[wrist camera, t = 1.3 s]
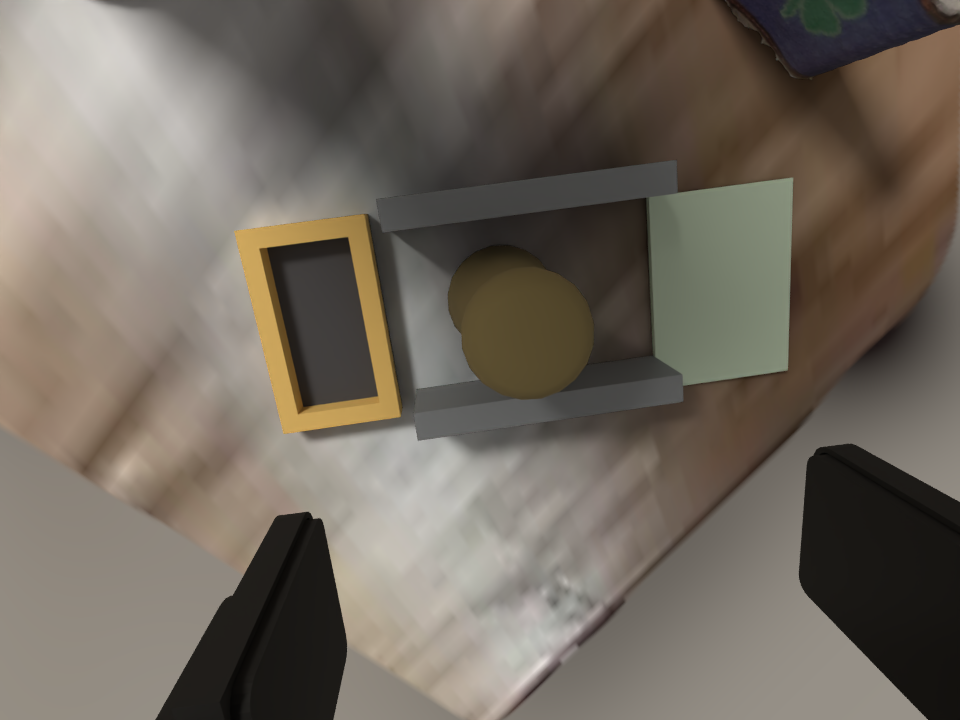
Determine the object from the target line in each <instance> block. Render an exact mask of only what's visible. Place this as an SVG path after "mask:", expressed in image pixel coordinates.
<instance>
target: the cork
mask: <svg viewBox="0 0 960 720" xmlns="http://www.w3.org/2000/svg"><path fill="white" fill-rule="evenodd" d="M448 306H449V313H450V315H451V318H452V320H453V323H454V326H455V327H456V328H457V330H458V331H459V332H460V333H461V334H462V349H463V352H464V354H465V357H466V360H467V362H468V365H469V367H470V369H471V370H472V371H473V372H474V374H475V375H476V376H477V377H478V378H479V380H480V381H481V382H482V383H483V384H485V385H486V386H488V387H489V388H491V389H493V390H494V391H496V392H498V393H499V394H501V395H504V396H508V397H512V398H516V399H520V400H528V399H542V398H544V397H547V396H550V395H552V394H555V393H558V392H560V391H561V390H563V389H564V388H565V387H567V386H568V385H569V384H570V383H572V382H573V381H574V380H576V378H577V377H578V376H579V374H580V373H581V371H582V370H583V369H584V367H585V366H586V364H587V363H588V360H589V357H590V354H591V351H592V348H593V345H594V322H593V319H592V316H591V313H590V309H589V306H588V303H587V301H586V300H585V298H584V297H583V296H582V294H581V293H580V292H579V290H578V289H577V287H576V286H575V285H574V284H572V283H571V282H569V281H568V280H566V279H565V278H564V277H562V276H561V275H559V274H558V273H555V272H552V271H548V270H546V269H545V267H544V266H543V265H542V263H541V262H540V261H539V259H537V258H536V257H534V256H533V255H531V254H530V253H529V252H527V251H526V250H524V249H520V248H517V247H513V246H510V245H501V246H490V247H487V248H484V249H482V250H479V251H477V252H475V253H473V254H472V255H471V256H470V257H468V258H467V259H466V260H465V261H463V262H462V263H461V265H460V266H459V268H458V269H457V271H456V272H455V274H454V275H453V277H452V280H451V284H450V288H449V291H448Z"/></svg>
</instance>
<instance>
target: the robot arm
mask: <svg viewBox="0 0 960 720" xmlns="http://www.w3.org/2000/svg"><path fill="white" fill-rule="evenodd" d="M801 539H802V540H801V551H800V552H801V553H800V566H799V579H800V583H801V586H802V588H803V590H804V591H805V593H806V594H807V596H808V597H809V598H810V599H811V600H812V601H813V602H814V603H815V604H816V605H817V606H818V607H819V608H820V609H821V610H822V611H823V612H824V613H825V614H826V615H827V616H828V617H829V618H830V619H831V620H832V621H833V622H834V623H835V624H836V626H837V627H838V628H839V629H840V630H841V631H842V632H843V633H844V634H845V635H846V636H847V637H848V638H849V639H850V640H851V641H852V642H853V643H854V644H855V645H856V646H857V647H858V648H859V649H860V650H861V651H862V652H863V653H864V654H865V655H866V656H867V657H868V658H869V659H870V661H871V662H872V663H873V664H874V665H875V666H876V667H877V668H878V669H879V670H880V671H881V672H882V673H883V674H884V675H885V676H886V677H887V678H888V679H889V680H890V681H891V682H892V683H893V684H894V685H895V686H896V687H897V688H898V689H899V690H900V691H901V692H902V693H903V695H904V696H905V697H907V699H909V701H910V702H911V703H912V704H913V705H914V706H915V707H916V708H917V709H918V710H919V711H920V712H921V713H922V714H923V715H924V716H925V717H926V718H927V719H928V720H960V502H959V501H957V500H955V499H953V498H951V497H950V496H948V495H946V494H944V493H942V492H940V491H939V490H937V489H935V488H933V487H931V486H929V485H928V484H926V483H924V482H922V481H920V480H918V479H917V478H915V477H913V476H911V475H909V474H907V473H906V472H904V471H902V470H900V469H898V468H897V467H895V466H893V465H891V464H889V463H887V462H886V461H884V460H882V459H880V458H878V457H876V456H875V455H872V454H871V453H869V452H867V451H866V450H864V449H862V448H860V447H858V446H856V445H853V444H843V445H835V446H828V447H820V448H818V449H817V450H816V452H815V453H814V456H812V457H810V458H809V460H808V462H807V471H806V485H805V497H804V511H803V525H802V538H801ZM346 656H347V639H346V633H345V628H344V623H343V618H342V613H341V608H340V603H339V598H338V593H337V588H336V583H335V578H334V573H333V569H332V564H331V559H330V554H329V549H328V544H327V539H326V534H325V529H324V525H323V521H322V519H320V518H318V519H313V517H312V515H311V513H309V512H303V513H295V514H287V515H279V516H277V517H276V518H275V519H274V521H273V523H272V525H271V527H270V529H269V530H268V532H267V534H266V536H265V538H264V539H263V541H262V543H261V545H260V547H259V549H258V550H257V552H256V554H255V556H254V558H253V560H252V561H251V563H250V565H249V567H248V569H247V571H246V572H245V574H244V576H243V578H242V580H241V582H240V583H239V585H238V587H237V589H236V591H235V593H234V594H233V596H229V597H228V598H226V599H225V600H224V601H223V602H222V604H221V605H220V607H219V609H218V610H217V612H216V614H215V615H214V617H213V619H212V621H211V623H210V624H209V626H208V628H207V630H206V631H205V633H204V635H203V637H202V638H201V640H200V642H199V644H198V646H197V647H196V649H195V651H194V653H193V654H192V656H191V658H190V660H189V661H188V663H187V665H186V667H185V668H184V670H183V672H182V674H181V676H180V677H179V679H178V681H177V683H176V684H175V686H174V688H173V690H172V692H171V693H170V695H169V697H168V699H167V700H166V702H165V704H164V706H163V707H162V709H161V711H160V713H159V714H158V717H157V718H156V720H333V718H334V713H335V709H336V704H337V699H338V695H339V690H340V685H341V680H342V676H343V671H344V666H345V662H346Z"/></svg>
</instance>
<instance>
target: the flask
mask: <svg viewBox="0 0 960 720" xmlns="http://www.w3.org/2000/svg"><path fill="white" fill-rule="evenodd" d="M724 1H725V2H727V4H728V6H729V7H730V8H731V12H732V13H733V14H734V15H735V16H736V17H737V21H739V22H741V23H742V24H743V25H744V27H748V29H749V28H750V27H751V29H752V30H753V29H754V30H756V31H758V32H759V33H760V35H761V36H762V41H761V44H763V43H764V44H765V45H768V46H770V47H771V48H772V49H773V50H774V51H775V55H776V57H777V58H776V61H777V60H779V62H781V63H782V64H783V65H784V68H785V69H786V70H787V71H788V72H789V74H790V76H791V77H793V78H797V79H805V78H808V79H811V80H812V78H813V76H816V75H819V74H822V73H825V72H828V71H831V70H834V69H836V68H838V67H841V66H845V65H847V64H850V63H852V62H854V61H857V60H862V59H865V58H868V57H870V56H873V55H875V54H877V53H879V52H882V51H884V50H887V49H890V48H893V47H897V46H900V45H903V44H905V43H907V42H909V41H913V40H917V39H920V38H922V37H925V36H928V35H931V34H933V33H935V32H937V31H939V30H943V29H947V28H951V27H954V26H956V25H960V0H724Z"/></svg>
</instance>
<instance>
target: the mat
mask: <svg viewBox="0 0 960 720" xmlns="http://www.w3.org/2000/svg"><path fill="white" fill-rule="evenodd" d="M792 200H793V178H785V179H778V180H770V181H763V182H755V183H748V184H740V185H733V186H725V187H718V188H710V189H703V190H695V191H688V192H680V193H677V194H670V195H662V196H654V197H647V198H646V208H647V231H648V254H649V278H650V301H651V325H652V348H653V356H654V357H656V358H658V359H659V360H661V361H662V362H664V363H665V364H667V365H669V366H670V367H672V368H673V369H675V370H676V371H678V372H679V373H681V374H683V386H684V385H691V384H698V383H705V382H712V381H719V380H726V379H732V378H739V377H746V376H753V375H760V374H767V373H774V372H780V371H787V370H788V346H789V309H790V273H791V236H792Z"/></svg>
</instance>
